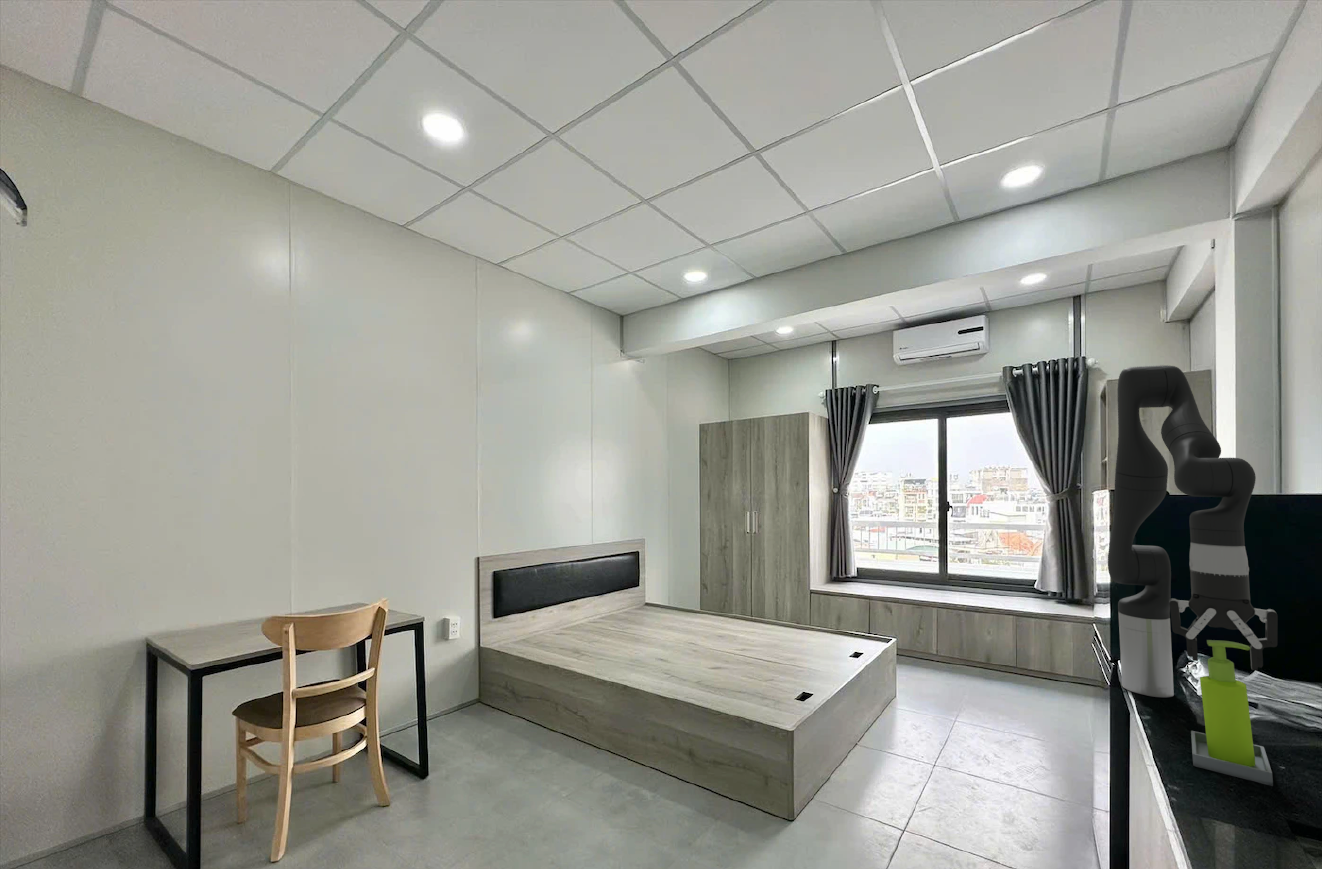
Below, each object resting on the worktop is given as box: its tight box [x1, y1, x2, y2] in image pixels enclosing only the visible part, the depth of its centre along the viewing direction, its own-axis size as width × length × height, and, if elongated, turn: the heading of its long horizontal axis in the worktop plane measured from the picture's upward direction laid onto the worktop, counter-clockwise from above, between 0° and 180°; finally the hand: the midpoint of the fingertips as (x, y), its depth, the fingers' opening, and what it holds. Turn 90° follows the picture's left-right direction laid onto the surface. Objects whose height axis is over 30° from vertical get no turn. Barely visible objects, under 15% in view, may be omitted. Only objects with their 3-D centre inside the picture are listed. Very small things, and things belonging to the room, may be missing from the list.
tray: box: [1190, 730, 1274, 787], centre depth 101 cm, size 12×10×2 cm
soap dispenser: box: [1199, 639, 1255, 767], centre depth 101 cm, size 6×7×20 cm
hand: (1223, 664), depth 102 cm, fingers open, 7 cm apart
